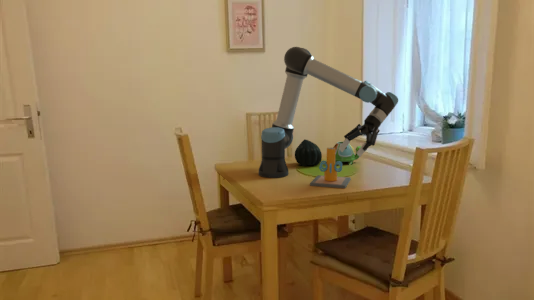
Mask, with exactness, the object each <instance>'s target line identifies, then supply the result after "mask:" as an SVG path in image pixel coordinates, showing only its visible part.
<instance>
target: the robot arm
mask: <svg viewBox="0 0 534 300" xmlns="http://www.w3.org/2000/svg"><path fill="white" fill-rule="evenodd" d="M283 57H284V58H283V61H284V65H285V71H284V72H285V74H286V79H285V83H284V87H283V92H282V96H281V98H280V103H279V108H278V111H277V116H276V120H275V121H273V122H272V125H271V127H266V128H264V129H263V130H262V131H261V135H260V137H261V162H260V165H259V169H258V176H259V177H264V178H270V179H271V178H273V179H275V178H284V177H288V175H289V168H288V165H287V162H286V149H287V148H289V147H290V146H291V144H292V142H293V139H294V130H295V126H294V125H293V123H294V118H295V115H296V114H295V113H296V111H297V106H298V102H299V97H300V94H301V90H302V86H303V82H304V80H305V79H306V78H307V77H308V75H309V76H311V77H313V78H316V79H318V80H320V81H322V82H324V83H326V84H328V85H330V86H332V87H334V88H336V89H338V90H341V91H342V92H345V93H347V94H349V95H351V96H353V97H355V98H357V99H360V100H361V101H362V102H364V103H368V104H369V103H370V104H371V105H373V106H374V108H373V109H372V110H371V112H369V114H368V115H367V116H366V118H365V119H364V121H363V122H364V123H363V124H362V125H361V124H360V123H358V124H357V125H356V126H355V127H354V128H353V129H351V130H350V131H348V133H346V134H345V135H344V136H343V137H344V140H343V141H342V142H343V143H342V145H341V146H340V147H339V148H338V149H339V150H340V151H341V152H343V151H344V150H345V148H346V147H347V146H348V144H349V143H350V144H351V141H353V140H354V139H356V138H358V137H361V136H365V137H366V139H365V141H364V142H363V144H362V145H360V146H361V148H360V149H359V150H358V151H357V155H358V156H359V158H362V156H363V155H364V153H365V152H366V151H367V150H368V148H369V147H371V146H372V147H374V146H376V145H375V144H376V141H377V139H378V134H379V133H380V131H381V130H380V129H379V128H380V127H381V125H382V124H383V122H384V121H385V120H386V119H387V117H388V116H389V115H390V114H391V112H392V111H393V110H394V109H395V107H396V106H397V104H398V103H399V98H398V96H397V95H396V93H393V92H392V91H387V92H386V93H384V92H383V91H381V89H379V88H377V87H376V86H375V85H373V83H372V82H369V81H368V80H364V81H363V80H359V79H357V78H356V77H353V76H350V75H349V74H347V73H345V72H342V71H340V70H338V69H337V68H334V67H332V66H329V65H328V64H325V63H323V62H322V61H319V60H317V59H315V58H314V55H312V53H311V52H310V51H309V50H308V49H307V48H304V47H299V46H293V47H290V48H288V49H287V50H286V52H285V54H284V56H283Z"/></svg>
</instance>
